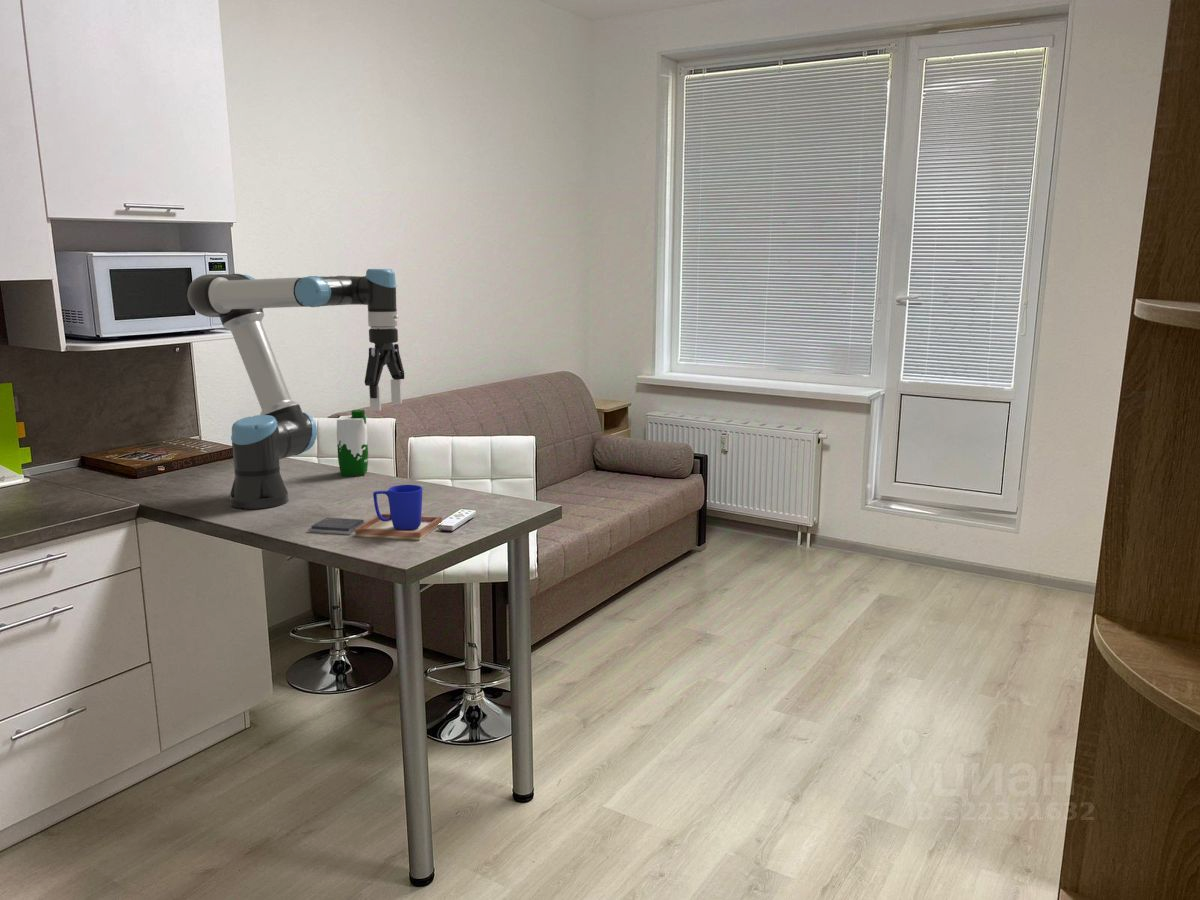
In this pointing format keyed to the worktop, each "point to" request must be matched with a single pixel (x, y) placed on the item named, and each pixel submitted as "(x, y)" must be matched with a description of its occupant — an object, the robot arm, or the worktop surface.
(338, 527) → the ink pad
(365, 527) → the sand box
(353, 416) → the milk carton
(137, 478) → the worktop surface
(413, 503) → the mug
